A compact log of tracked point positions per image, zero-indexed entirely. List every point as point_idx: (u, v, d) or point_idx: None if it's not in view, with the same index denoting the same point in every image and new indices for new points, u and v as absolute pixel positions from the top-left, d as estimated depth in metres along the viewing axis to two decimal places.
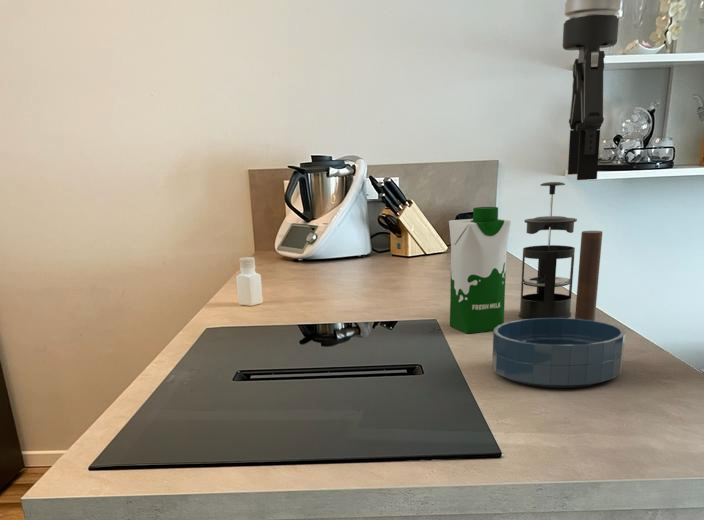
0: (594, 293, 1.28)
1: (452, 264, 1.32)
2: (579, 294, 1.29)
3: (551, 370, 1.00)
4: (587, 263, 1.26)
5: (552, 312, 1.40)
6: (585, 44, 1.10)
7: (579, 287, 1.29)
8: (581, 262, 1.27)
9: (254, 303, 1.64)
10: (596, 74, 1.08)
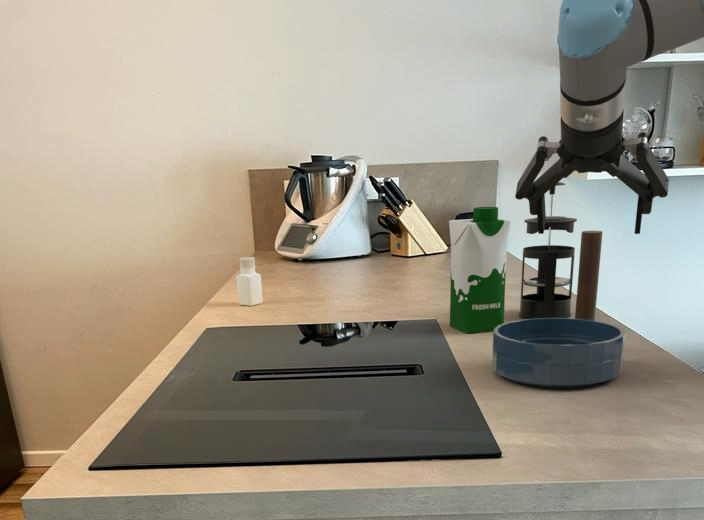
0: (594, 293, 1.28)
1: (452, 264, 1.32)
2: (579, 294, 1.29)
3: (551, 370, 1.00)
4: (587, 263, 1.26)
5: (552, 312, 1.40)
6: (620, 139, 0.99)
7: (579, 287, 1.29)
8: (581, 262, 1.27)
9: (254, 303, 1.64)
10: (650, 154, 1.02)
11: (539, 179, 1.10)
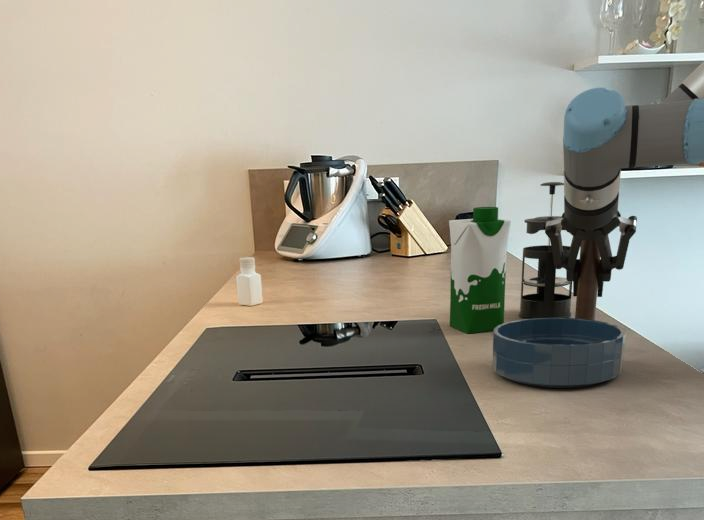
0: (594, 293, 1.28)
1: (452, 264, 1.32)
2: (579, 294, 1.29)
3: (551, 370, 1.00)
4: (587, 263, 1.26)
5: (552, 312, 1.40)
6: (616, 214, 1.14)
7: (579, 287, 1.29)
8: (581, 262, 1.27)
9: (254, 303, 1.64)
10: None
11: (569, 251, 1.26)
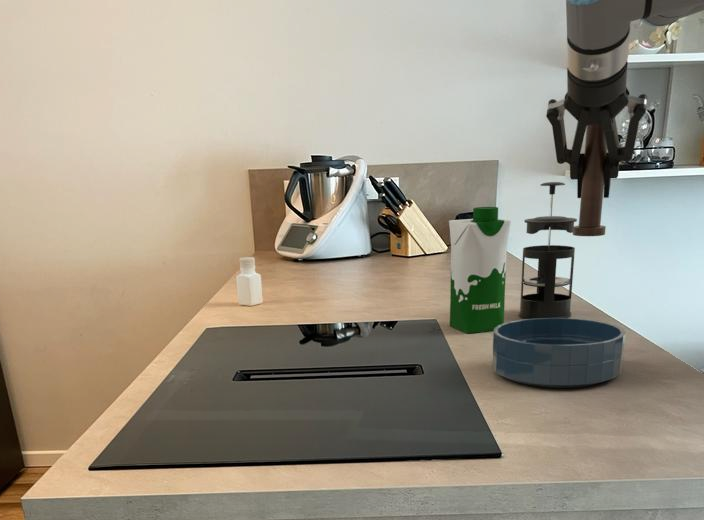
0: (600, 190, 1.18)
1: (452, 264, 1.32)
2: (584, 192, 1.18)
3: (551, 370, 1.00)
4: (593, 156, 1.16)
5: (552, 312, 1.40)
6: (624, 90, 1.04)
7: (584, 184, 1.18)
8: (586, 156, 1.17)
9: (254, 303, 1.64)
10: None
11: None
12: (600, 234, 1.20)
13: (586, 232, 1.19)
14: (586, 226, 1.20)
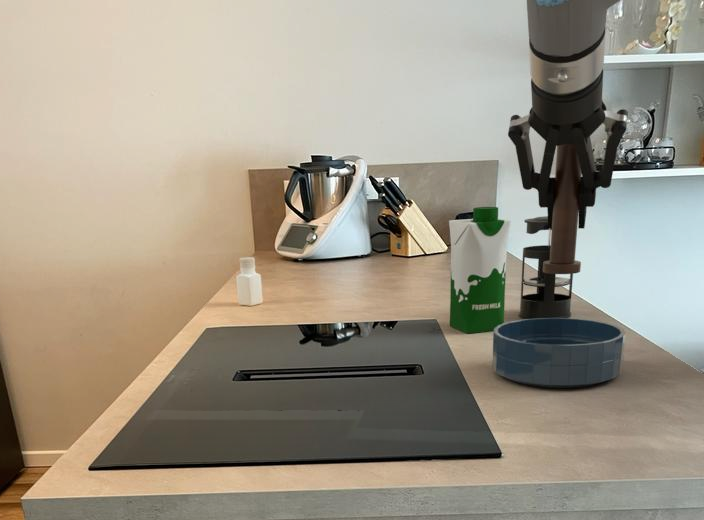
0: (574, 221, 1.00)
1: (452, 264, 1.32)
2: (555, 223, 1.01)
3: (551, 370, 1.00)
4: (565, 181, 0.98)
5: (552, 312, 1.40)
6: (599, 105, 0.86)
7: (555, 213, 1.00)
8: (557, 180, 0.99)
9: (254, 303, 1.64)
10: None
11: (541, 166, 0.98)
12: (574, 272, 1.02)
13: (558, 269, 1.02)
14: (558, 262, 1.02)
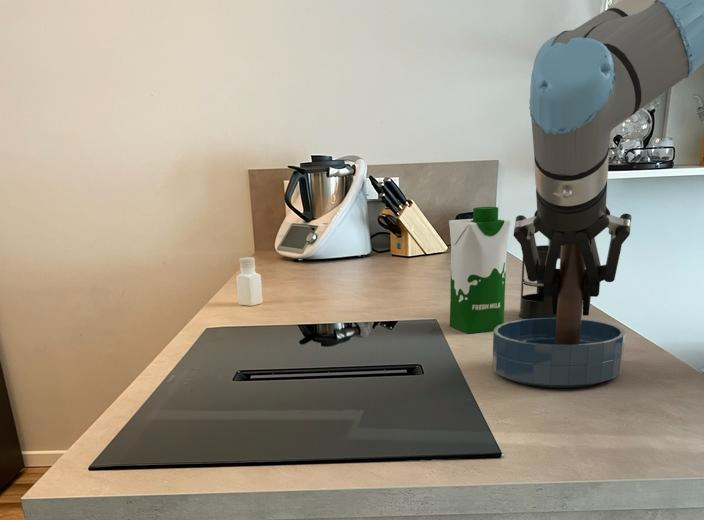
0: (578, 311, 1.02)
1: (452, 264, 1.32)
2: (560, 313, 1.02)
3: (551, 370, 1.00)
4: (569, 274, 1.00)
5: (552, 312, 1.40)
6: (603, 212, 0.87)
7: (559, 304, 1.02)
8: (561, 273, 1.00)
9: (254, 303, 1.64)
10: None
11: (546, 259, 0.99)
12: None
13: None
14: None
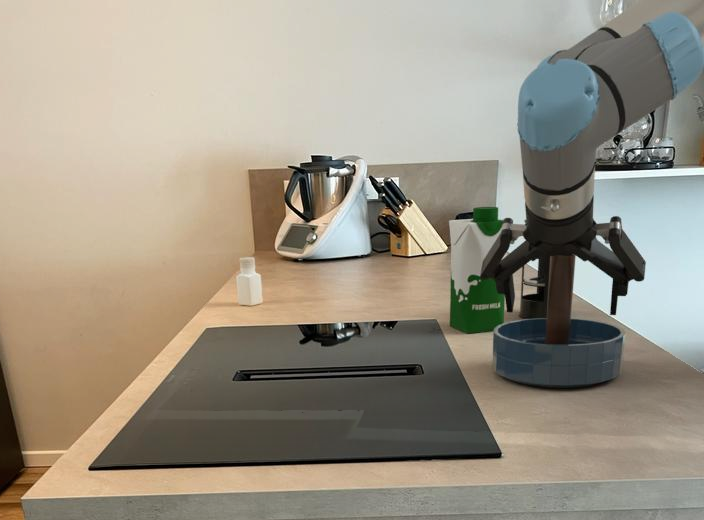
0: (567, 323, 1.05)
1: (452, 264, 1.32)
2: (549, 325, 1.05)
3: (551, 370, 1.00)
4: (558, 286, 1.03)
5: None
6: (590, 225, 0.90)
7: (548, 316, 1.05)
8: (550, 285, 1.03)
9: (254, 303, 1.64)
10: (624, 238, 0.93)
11: (505, 259, 1.02)
12: None
13: None
14: None
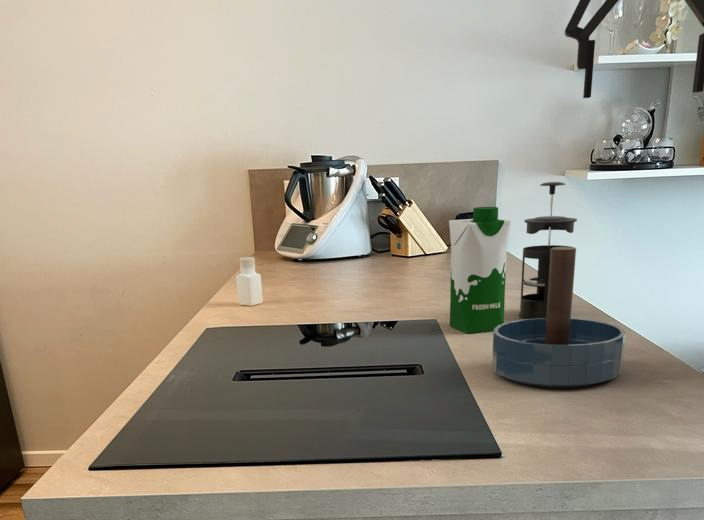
0: (567, 323, 1.05)
1: (452, 264, 1.32)
2: (549, 325, 1.05)
3: (551, 370, 1.00)
4: (558, 286, 1.03)
5: None
6: None
7: (548, 316, 1.05)
8: (550, 285, 1.03)
9: (254, 303, 1.64)
10: None
11: None
12: None
13: None
14: None
